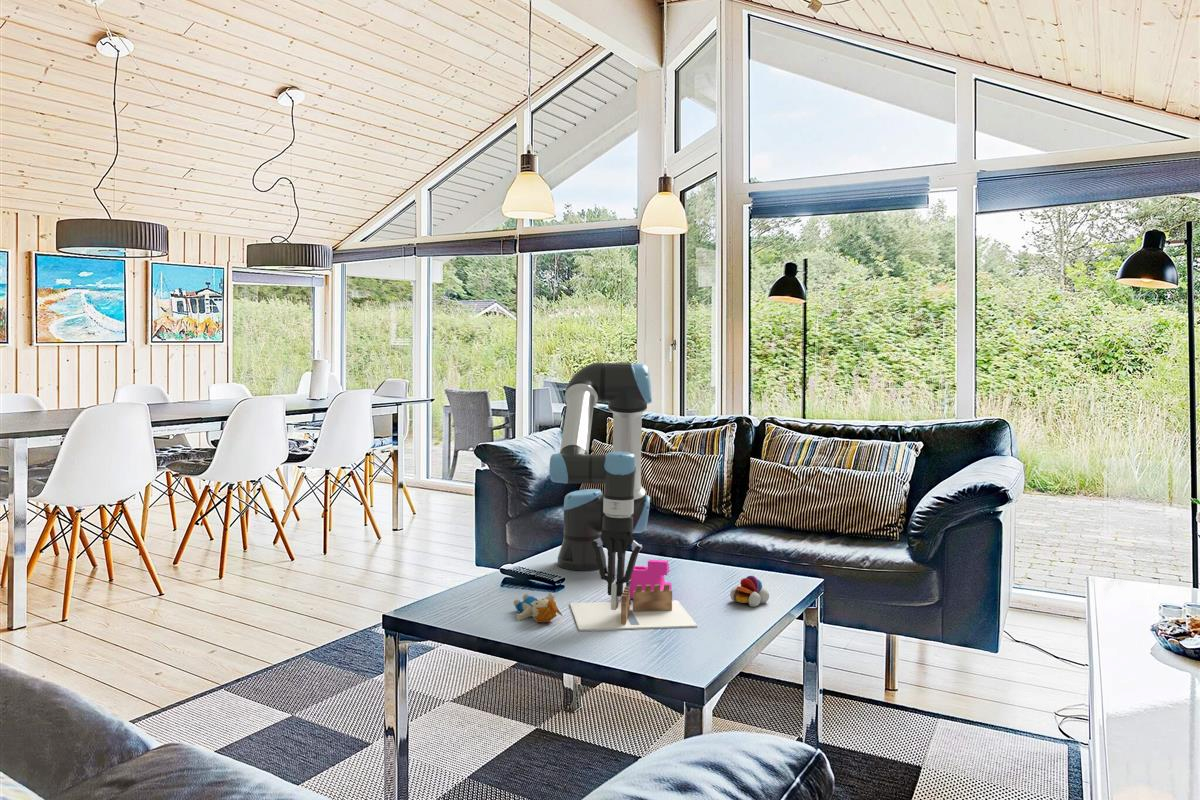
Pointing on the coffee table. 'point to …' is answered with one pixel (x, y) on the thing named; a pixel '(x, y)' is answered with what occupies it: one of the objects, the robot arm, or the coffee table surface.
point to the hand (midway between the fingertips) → (614, 608)
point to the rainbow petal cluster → (750, 592)
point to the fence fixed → (652, 598)
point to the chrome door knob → (628, 583)
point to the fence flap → (625, 605)
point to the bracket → (650, 575)
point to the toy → (537, 608)
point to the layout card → (607, 619)
